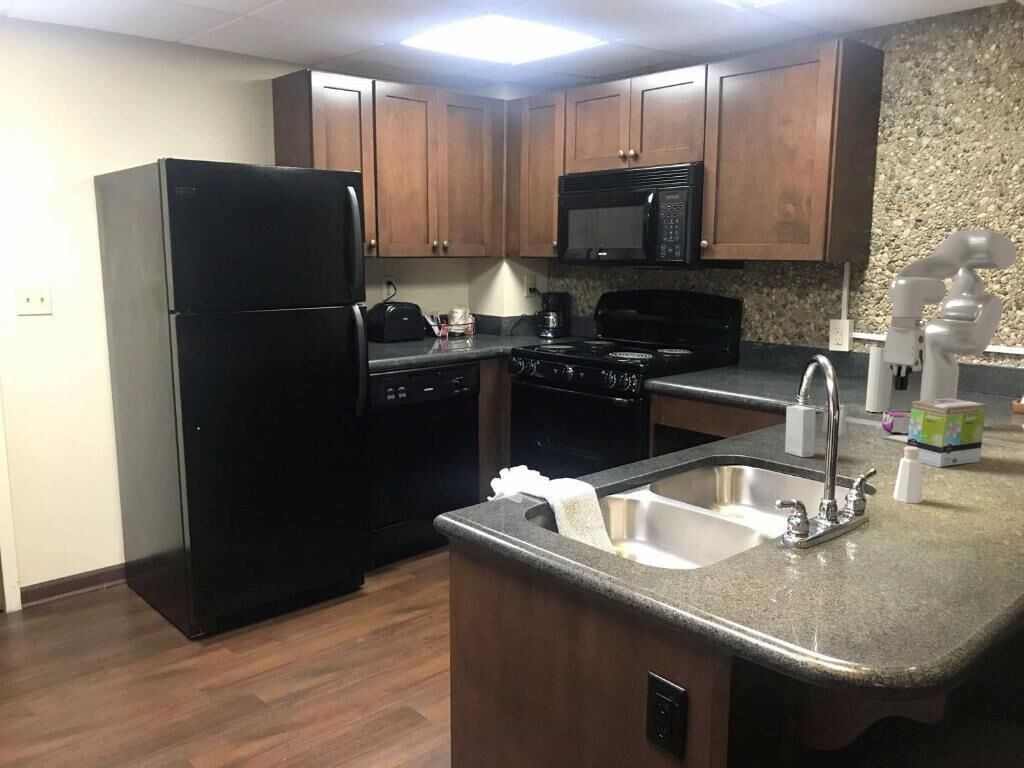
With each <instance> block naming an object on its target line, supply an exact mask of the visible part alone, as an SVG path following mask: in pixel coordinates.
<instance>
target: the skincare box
mask: <svg viewBox="0 0 1024 768" xmlns="http://www.w3.org/2000/svg"><path fill="white" fill-rule="evenodd" d="M785 411H786V412H785V414H786V415H785V416H786V417H785V421H786V422H785V446H784V449H785V450H784V451H785V454H786V453H787V454H790V455H794V456H797V457H801V458H810V457H814V456H815V441H816V440H815V439H816V438H815V437H816V414H817V413H816V412H817V409H816V408H813V407H808V406H804V405H798V404H796V405H789V406H786V410H785Z"/></svg>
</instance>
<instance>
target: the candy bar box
mask: <svg viewBox="0 0 1024 768" xmlns="http://www.w3.org/2000/svg"><path fill="white" fill-rule="evenodd" d="M910 415H911V412H910V413H909V412H899V411H898V412H897V411H887V412H885V411H884V412H883V413H882V424H881V428H884V429H885V430H887V431H889V432H890V433H892V434H908V431H909V423H910Z"/></svg>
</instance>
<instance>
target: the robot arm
mask: <svg viewBox="0 0 1024 768" xmlns="http://www.w3.org/2000/svg"><path fill="white" fill-rule="evenodd" d="M1017 252H1018V250H1017V247H1016V245H1015V243H1014V242H1013V241H1012V240H1011V239H1010V238H1008V237H1007V236H1006V235H1003V234H1002V233H1000V232H998V231H995V230H991V229H975V230H974V229H973V230H972V229H970V230H966V229H965V230H958V231H955V232H952V233H951V234H950V235H948V236H947V237H946V239H945V240H944V241H943V242H942V243H941V245H940V246H939V247H938V248H937V249H936V250H935V251H934V253H933V254H931V255H928V256H926V257H925V256H924V257H923V258H921V259H918V260H916V261H913V262H911V263H909V264H907V265H905V266H904V267H903V268H901V269H900V270H899V271H898V272H897V273H896V275H895V276H894V277H893V278H892V281H891V282H890V284H889V286H888V287H889V288H888V295H889V298H890V299H891V301H892V311H891V323H890V327H889V328H888V331H887V333H886V337H885V343H884V346H885V347H884V361H885V363H884V366H886V367H888V368H891V370H892V371H893V374H892V376H893V375H894V383H893V384H894V390H895V391H899V392H900V391H901V392H902V391H906V390H907V389H908V385H909V377H910V376H911V375H912V374H913V373H914V372H918V371H922V372H921V383H920V395H919V401H922V400H934V399H946V398H953V399H957V393H958V382H959V375H960V368H959V364H958V361H957V359H956V357H955V356H954V355H953V354H961V355H962V354H963V355H981V354H983V353H984V352H985V351H986V350H987V349H988V347H989V345H990V343H991V340H992V339H993V338H994V335H995V334H996V331H997V329H998V327H999V325H1000V322H1001V320H1002V318H1003V312H1004V311H1003V310H1004V305H1003V304H1004V303H1003V302H1002V299H1001V298H1000V297H999V296H998V295H996V294H990V293H984V292H985V290H986V285H985V283H984V281H983V278H981V276H980V275H979V274H978V273H977V272H976V271H975V270H1007V269H1009V268H1011V267H1012V266H1013V265H1014V264H1015V263H1016V260H1017V256H1018V255H1017V254H1018V253H1017ZM950 278H953V285H952V286H951V288H950V291H949V292H948V294H947V285H946V284H945V282H944V281H943V280H947V279H950ZM944 299H945V300H944ZM943 300H944V301H943ZM942 301H943V304H942V306H941V308H940V312H939V313H940V318H937V319H936V318H935V319H933V320H932V319H931V320H929V321H928V322H926V321H925V320H923V313H924V312H923V311H924V305H925V306H928V305H929V306H931V305H932V306H933V305H937V304H939V303H941V302H942ZM922 327H923V328H922Z"/></svg>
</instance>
